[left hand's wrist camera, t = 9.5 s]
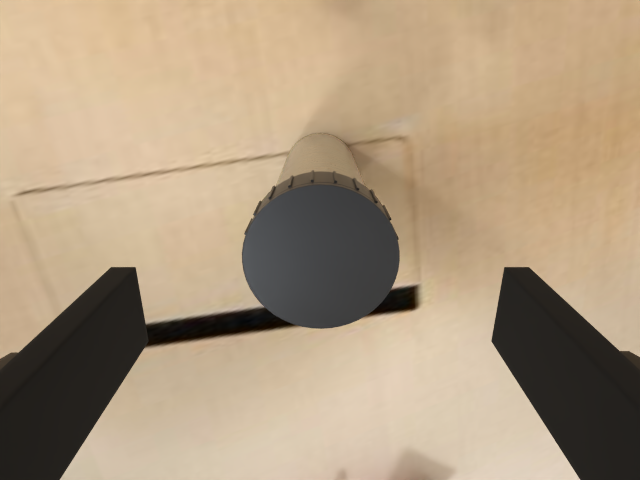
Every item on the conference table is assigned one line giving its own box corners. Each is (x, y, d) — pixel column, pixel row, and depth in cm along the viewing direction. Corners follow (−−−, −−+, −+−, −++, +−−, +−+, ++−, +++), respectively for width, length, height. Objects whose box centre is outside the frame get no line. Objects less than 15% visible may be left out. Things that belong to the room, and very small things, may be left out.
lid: (416, 262, 19) (428, 286, 17) (297, 323, 20) (294, 353, 18) (348, 141, 17) (352, 150, 15) (220, 216, 19) (207, 235, 16)
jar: (367, 180, 34) (410, 278, 17) (308, 213, 35) (298, 335, 18) (333, 119, 32) (346, 165, 16) (272, 156, 33) (226, 235, 17)
